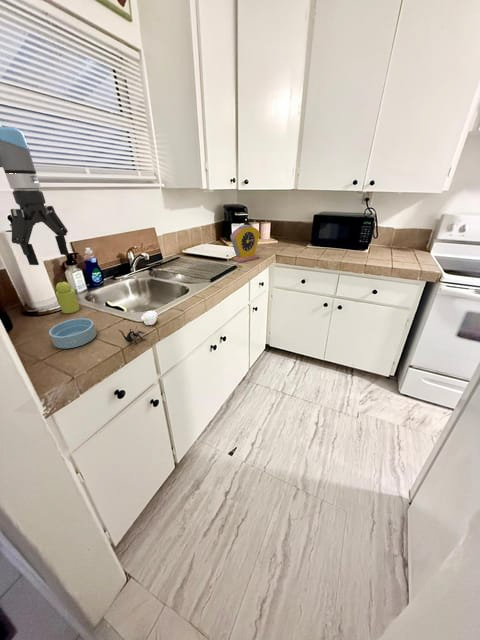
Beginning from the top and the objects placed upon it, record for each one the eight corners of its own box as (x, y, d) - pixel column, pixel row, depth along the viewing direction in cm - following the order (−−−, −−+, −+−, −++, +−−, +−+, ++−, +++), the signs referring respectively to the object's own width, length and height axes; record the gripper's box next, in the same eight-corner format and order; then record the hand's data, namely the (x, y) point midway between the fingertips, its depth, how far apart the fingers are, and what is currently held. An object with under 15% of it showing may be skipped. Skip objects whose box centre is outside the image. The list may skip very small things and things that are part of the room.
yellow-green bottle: (58, 312, 102) (46, 280, 96) (69, 306, 107) (58, 275, 101) (72, 313, 101) (61, 281, 95) (82, 307, 106) (73, 276, 100)
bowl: (44, 348, 80) (39, 335, 78) (71, 328, 91) (67, 317, 88) (80, 351, 79) (76, 338, 76) (104, 331, 89) (101, 319, 87)
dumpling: (162, 321, 96) (160, 313, 93) (151, 329, 92) (149, 321, 90) (148, 314, 98) (146, 306, 95) (138, 322, 95) (135, 313, 92)
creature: (136, 335, 89) (116, 341, 82) (136, 320, 87) (116, 325, 80) (153, 341, 86) (134, 348, 79) (154, 325, 84) (134, 331, 77)
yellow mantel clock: (237, 263, 163) (237, 227, 153) (228, 260, 169) (227, 225, 159) (262, 257, 176) (263, 224, 166) (252, 255, 182) (253, 222, 172)
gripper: (-1, 191, 68) (30, 270, 78) (67, 189, 90) (84, 251, 99) (-26, 191, 68) (7, 269, 78) (47, 189, 90) (66, 250, 100)
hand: (50, 259), depth 89 cm, fingers open, 13 cm apart
